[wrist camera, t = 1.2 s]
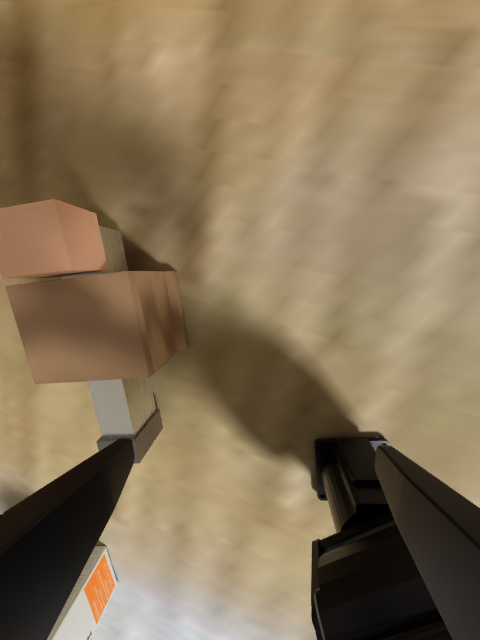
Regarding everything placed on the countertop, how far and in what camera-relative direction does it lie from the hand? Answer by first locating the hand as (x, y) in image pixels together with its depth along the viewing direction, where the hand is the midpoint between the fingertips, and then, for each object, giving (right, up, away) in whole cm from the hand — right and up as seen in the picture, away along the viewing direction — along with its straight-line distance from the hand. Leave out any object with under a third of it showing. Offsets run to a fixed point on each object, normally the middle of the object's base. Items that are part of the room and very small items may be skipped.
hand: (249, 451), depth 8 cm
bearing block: (-10, +5, +13) cm, 17 cm away
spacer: (-12, +10, +7) cm, 17 cm away
